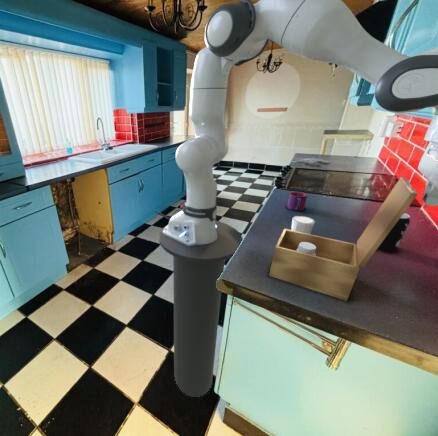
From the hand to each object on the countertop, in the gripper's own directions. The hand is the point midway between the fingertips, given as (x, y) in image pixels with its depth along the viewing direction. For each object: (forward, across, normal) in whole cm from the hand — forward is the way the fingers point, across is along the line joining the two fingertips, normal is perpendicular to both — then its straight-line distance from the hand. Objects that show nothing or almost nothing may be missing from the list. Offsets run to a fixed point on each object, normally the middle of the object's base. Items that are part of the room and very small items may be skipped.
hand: (429, 203), depth 48 cm
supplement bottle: (+24, 0, -18) cm, 30 cm away
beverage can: (+25, -29, +2) cm, 38 cm away
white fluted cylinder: (+25, -23, -21) cm, 40 cm away
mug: (+25, -50, -26) cm, 62 cm away
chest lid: (+6, 0, -6) cm, 8 cm away
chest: (+25, 0, -16) cm, 30 cm away
